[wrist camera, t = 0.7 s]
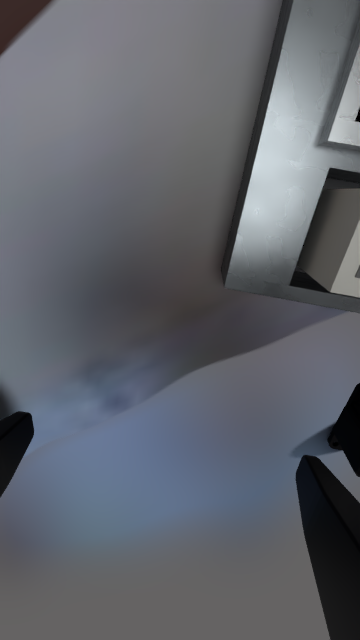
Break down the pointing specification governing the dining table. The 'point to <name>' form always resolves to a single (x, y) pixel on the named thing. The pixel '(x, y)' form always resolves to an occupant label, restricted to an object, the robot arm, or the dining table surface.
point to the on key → (335, 242)
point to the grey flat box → (297, 150)
